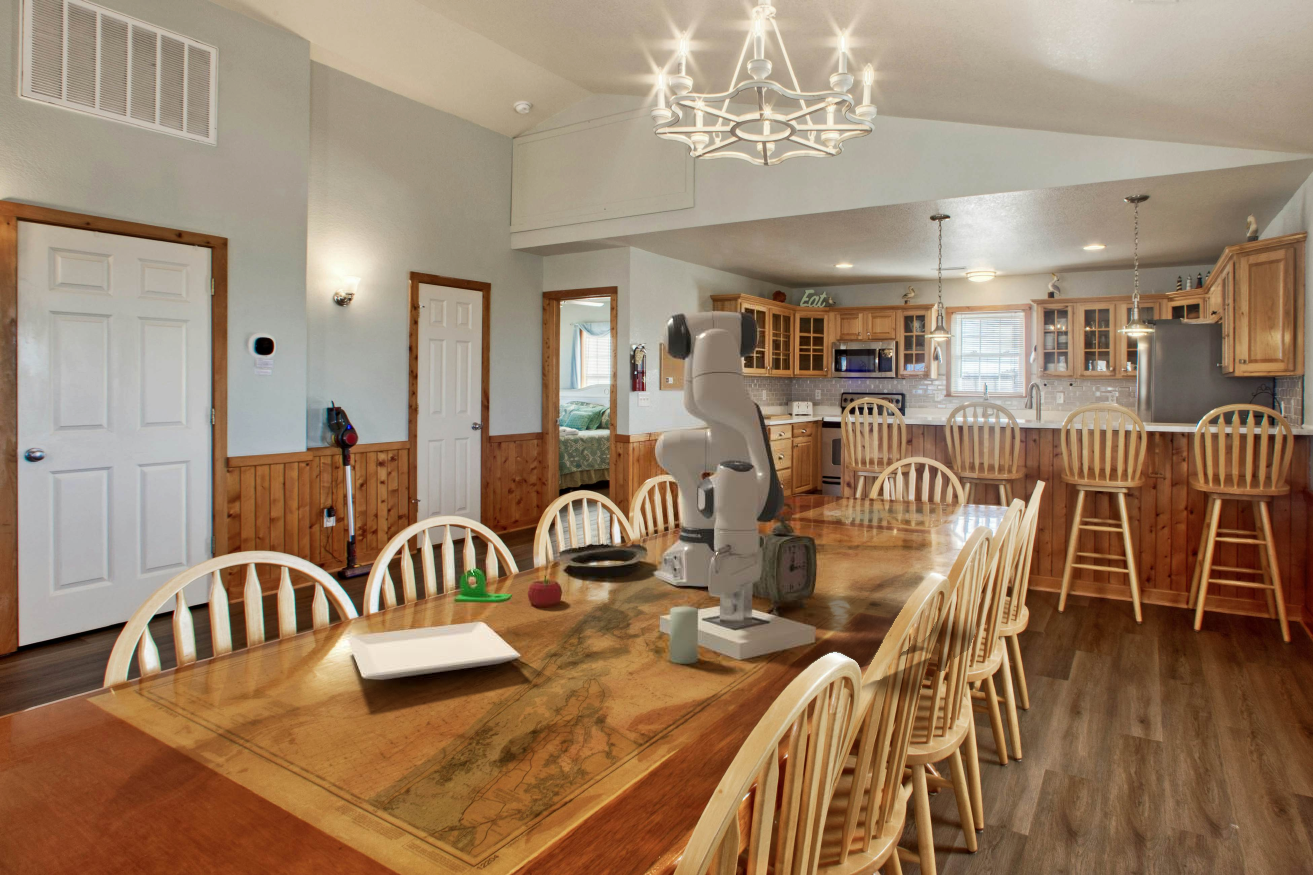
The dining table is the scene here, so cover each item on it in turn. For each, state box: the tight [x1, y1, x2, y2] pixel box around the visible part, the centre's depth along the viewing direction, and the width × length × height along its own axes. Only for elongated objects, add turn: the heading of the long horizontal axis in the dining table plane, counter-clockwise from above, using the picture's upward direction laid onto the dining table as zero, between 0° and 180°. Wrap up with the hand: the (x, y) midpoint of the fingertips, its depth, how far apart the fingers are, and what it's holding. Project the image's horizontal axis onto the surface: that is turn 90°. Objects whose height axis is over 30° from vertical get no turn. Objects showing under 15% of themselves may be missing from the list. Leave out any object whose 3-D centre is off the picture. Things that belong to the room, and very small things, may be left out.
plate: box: [347, 621, 522, 680], centre depth 137 cm, size 26×26×2 cm
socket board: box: [659, 605, 816, 661], centre depth 151 cm, size 24×20×3 cm
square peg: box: [719, 581, 753, 627], centre depth 151 cm, size 5×5×11 cm
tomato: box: [527, 574, 563, 608], centre depth 174 cm, size 8×8×8 cm
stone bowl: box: [557, 543, 649, 578], centre depth 205 cm, size 25×25×9 cm
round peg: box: [669, 606, 699, 665], centre depth 135 cm, size 5×5×9 cm
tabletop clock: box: [752, 502, 818, 617], centre depth 171 cm, size 14×9×25 cm, turn 131°
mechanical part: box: [454, 568, 513, 603], centre depth 177 cm, size 12×6×8 cm, turn 87°
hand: (735, 611), depth 151 cm, fingers open, 5 cm apart
